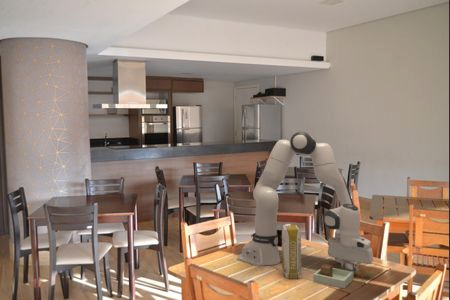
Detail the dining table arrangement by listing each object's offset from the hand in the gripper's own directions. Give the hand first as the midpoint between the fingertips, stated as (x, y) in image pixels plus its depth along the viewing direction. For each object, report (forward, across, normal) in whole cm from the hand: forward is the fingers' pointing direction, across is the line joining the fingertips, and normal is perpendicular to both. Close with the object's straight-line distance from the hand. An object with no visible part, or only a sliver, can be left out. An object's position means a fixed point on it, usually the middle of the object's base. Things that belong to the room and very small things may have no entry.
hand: (349, 269), depth 183 cm
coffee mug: (+3, -47, +23) cm, 52 cm away
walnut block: (+2, -7, -11) cm, 13 cm away
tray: (+2, -4, -10) cm, 11 cm away
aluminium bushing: (+2, 0, 0) cm, 2 cm away
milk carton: (+3, -8, +15) cm, 17 cm away
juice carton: (+3, -22, -16) cm, 27 cm away
